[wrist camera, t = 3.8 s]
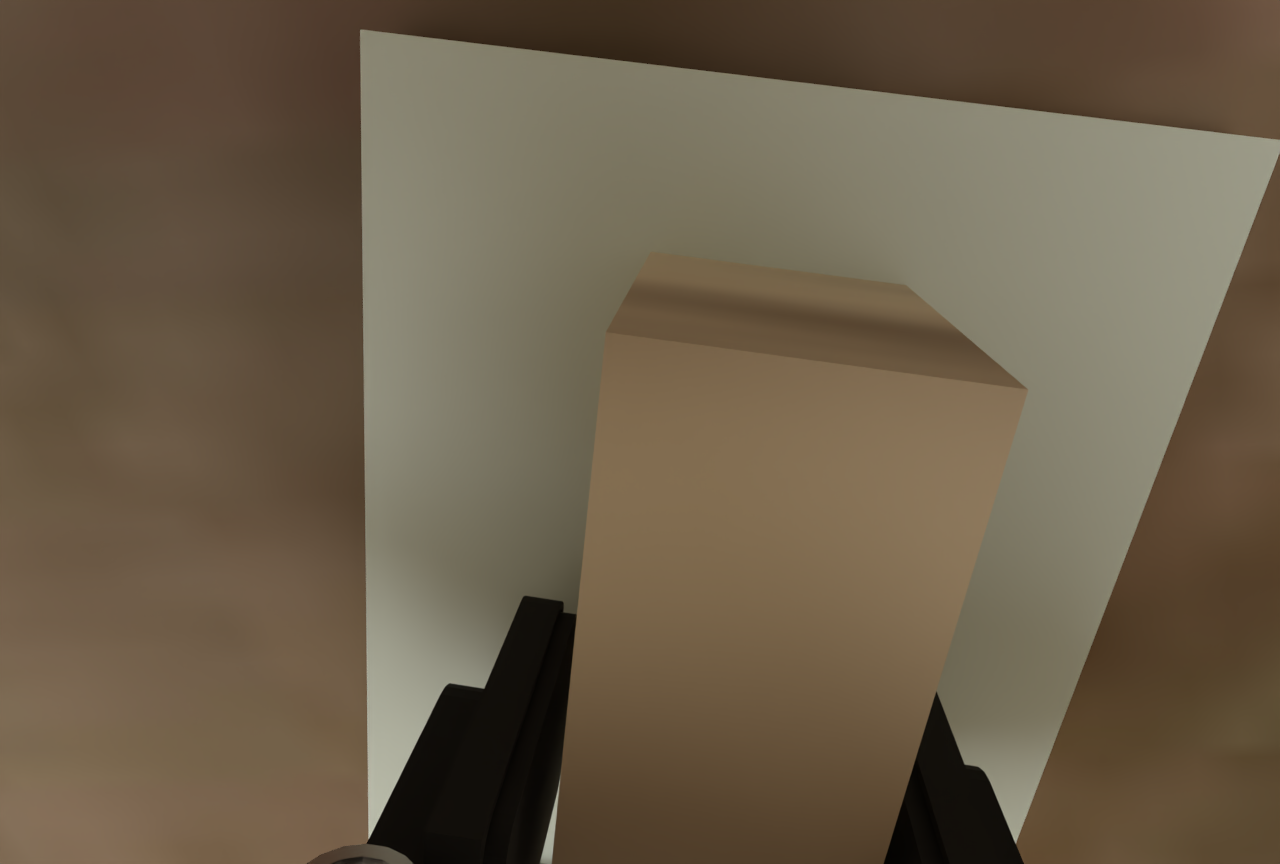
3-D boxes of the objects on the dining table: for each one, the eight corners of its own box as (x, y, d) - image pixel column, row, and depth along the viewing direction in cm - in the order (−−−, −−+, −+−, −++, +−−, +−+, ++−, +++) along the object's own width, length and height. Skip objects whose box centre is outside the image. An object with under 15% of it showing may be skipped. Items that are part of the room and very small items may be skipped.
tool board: (393, 39, 10) (359, 30, 9) (1229, 139, 9) (1285, 140, 8) (390, 1133, 18) (372, 1189, 17) (842, 1217, 17) (849, 1278, 16)
